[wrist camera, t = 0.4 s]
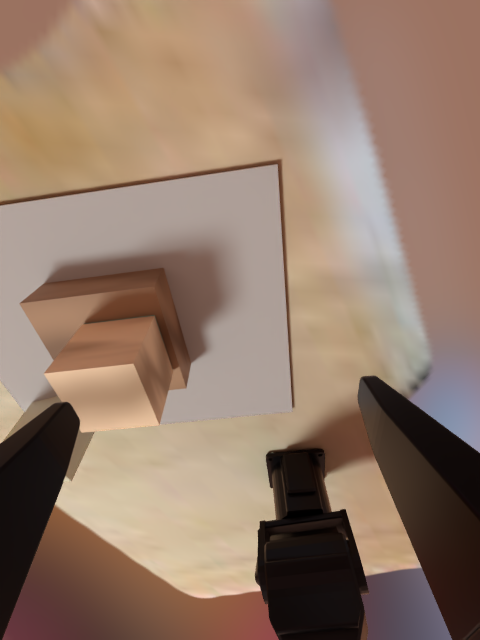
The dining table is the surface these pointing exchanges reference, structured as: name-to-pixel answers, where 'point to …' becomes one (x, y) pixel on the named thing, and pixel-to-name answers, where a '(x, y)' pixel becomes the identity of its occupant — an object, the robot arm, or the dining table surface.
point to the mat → (182, 275)
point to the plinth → (108, 311)
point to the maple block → (114, 374)
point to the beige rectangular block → (81, 440)
